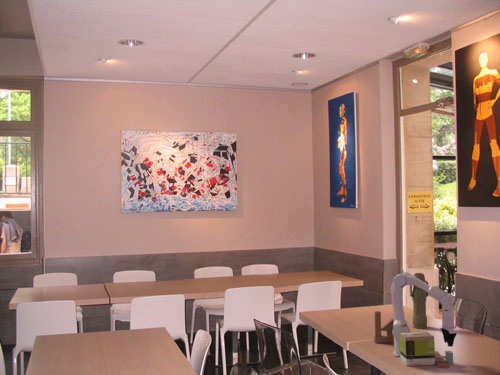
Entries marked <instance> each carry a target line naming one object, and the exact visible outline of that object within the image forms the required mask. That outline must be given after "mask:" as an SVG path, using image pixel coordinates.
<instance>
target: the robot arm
mask: <svg viewBox="0 0 500 375" xmlns="http://www.w3.org/2000/svg"><path fill="white" fill-rule="evenodd" d="M410 285H412V286H413V285H415V286H417V287H419V288H421V289H423V290H425V291H427V292H428V297H431V298H432V299H434V300H436V301H438V302H439V303H440V304H441V315H442V317H441V321H442V324H441V325H442V326H441V328H440V331H441V333H442V337H443V340H444V341H443V342H444V343H447V346H448V347H454V342H455V339H456V336H457V334H458V333H456V332H455V331H454V330H455V329H457V326H456V325H455V307H454V303H455V302H456V298H455V295H453V294H452V293H450V292H449V293H448V292H447V291H445V290H443V289H440V288H439V286H438V285H436V286H435V285H432V286H431V285H429V283H428V284H426V282H425V283H424V282H423V281H421V280H420V279H418V278H416V277H415V276H414V274H411V273H409V272H407V271H405V272H402V273H399V274H396V275H395V276H394V277H393V278H392V283H391V285H390V294H391V303H392V308H393V309H392V310H393V317H394V318H393V331H392V334H393V336H394V343H393V347H394V350H392V353H393V355H394V356H395V357H401V355H400V333H411V331H410V330H411V329H410V326H409V325H408V321H407V320H406V319H405V312H404V310H405V309H404V303H403V297H402V296H403V295H402V290H403V289H404V288H405V286H410Z"/></svg>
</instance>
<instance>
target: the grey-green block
mask: <svg viewBox="0 0 500 375" xmlns="http://www.w3.org/2000/svg"><path fill="white" fill-rule="evenodd" d="M444 354H445V355H441V356H438V358H440V360H441V358H444V360H445V361H446V362H447V363H448V364H449V366H453V365H454V352H453V351H452V350H445V351H444Z"/></svg>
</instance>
